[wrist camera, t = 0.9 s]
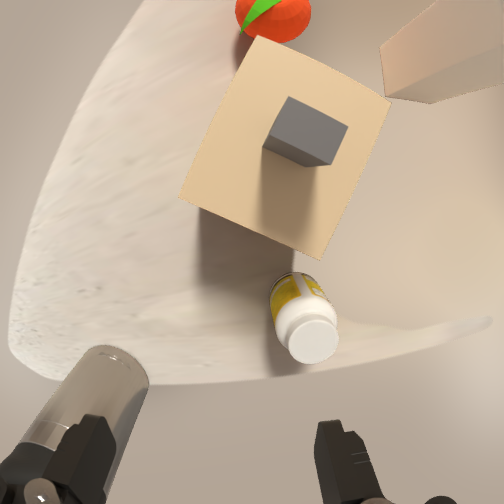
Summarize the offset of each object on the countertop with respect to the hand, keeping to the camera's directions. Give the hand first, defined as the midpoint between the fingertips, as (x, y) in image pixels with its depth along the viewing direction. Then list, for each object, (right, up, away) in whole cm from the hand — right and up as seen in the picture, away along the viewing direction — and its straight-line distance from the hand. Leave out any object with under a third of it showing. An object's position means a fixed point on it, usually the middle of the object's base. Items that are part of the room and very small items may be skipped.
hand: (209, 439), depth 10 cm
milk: (+18, +26, +17) cm, 36 cm away
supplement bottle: (+6, +2, +23) cm, 24 cm away
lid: (+4, +14, +9) cm, 17 cm away
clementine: (+3, +29, +16) cm, 34 cm away
